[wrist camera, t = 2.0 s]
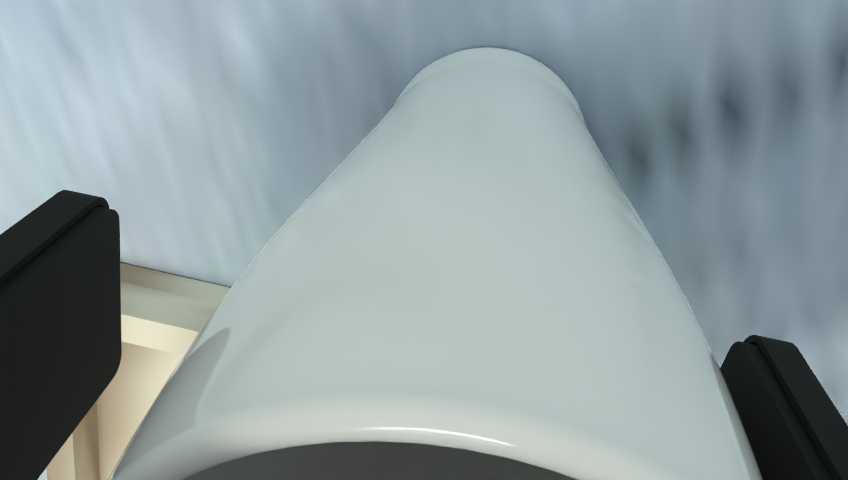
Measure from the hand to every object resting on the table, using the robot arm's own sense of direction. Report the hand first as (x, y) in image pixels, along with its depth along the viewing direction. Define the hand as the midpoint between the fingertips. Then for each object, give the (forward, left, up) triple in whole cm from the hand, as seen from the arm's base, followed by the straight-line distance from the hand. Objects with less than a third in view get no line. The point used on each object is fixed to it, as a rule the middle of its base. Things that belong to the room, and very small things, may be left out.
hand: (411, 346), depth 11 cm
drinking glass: (-1, 0, -10) cm, 10 cm away
